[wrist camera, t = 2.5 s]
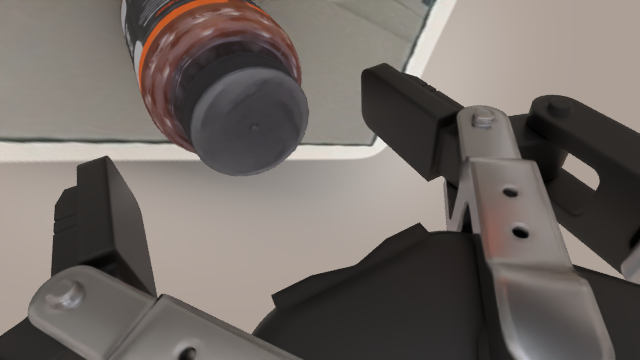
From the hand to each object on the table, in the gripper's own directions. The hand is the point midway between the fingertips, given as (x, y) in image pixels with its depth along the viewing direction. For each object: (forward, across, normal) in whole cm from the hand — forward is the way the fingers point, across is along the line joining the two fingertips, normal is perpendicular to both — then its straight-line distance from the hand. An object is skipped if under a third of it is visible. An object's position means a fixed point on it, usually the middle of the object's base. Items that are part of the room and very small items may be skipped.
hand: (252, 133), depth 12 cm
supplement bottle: (+12, 0, 0) cm, 12 cm away
